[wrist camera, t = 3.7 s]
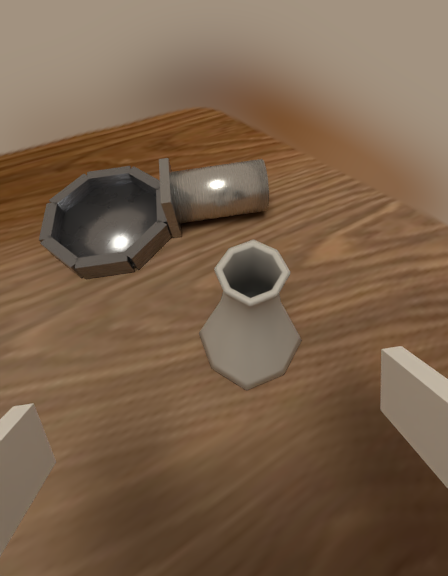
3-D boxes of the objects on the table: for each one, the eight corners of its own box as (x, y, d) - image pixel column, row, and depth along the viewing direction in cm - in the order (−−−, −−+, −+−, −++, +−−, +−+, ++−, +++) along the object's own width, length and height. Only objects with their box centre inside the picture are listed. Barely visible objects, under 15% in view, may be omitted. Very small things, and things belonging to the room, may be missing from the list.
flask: (183, 333, 22) (141, 264, 13) (252, 278, 24) (256, 186, 15) (245, 410, 19) (245, 389, 10) (318, 342, 21) (371, 275, 12)
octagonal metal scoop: (251, 163, 30) (252, 123, 26) (274, 251, 25) (280, 217, 21) (62, 190, 30) (35, 154, 26) (45, 285, 25) (8, 257, 21)
